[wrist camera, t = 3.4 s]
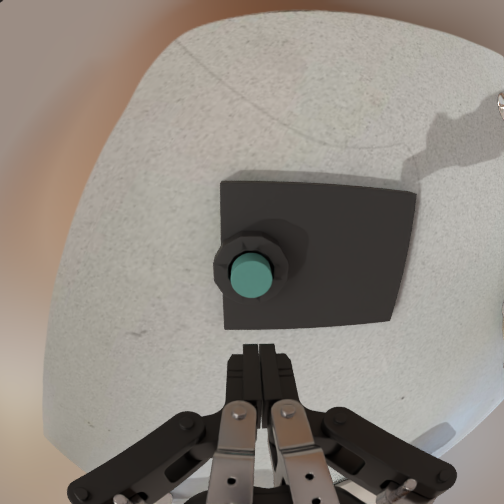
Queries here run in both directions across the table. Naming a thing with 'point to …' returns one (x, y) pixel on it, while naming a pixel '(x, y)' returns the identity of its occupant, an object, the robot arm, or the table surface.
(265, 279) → the power button
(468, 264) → the table surface
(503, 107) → the wineglass
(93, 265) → the table surface
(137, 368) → the table surface
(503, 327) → the bowl
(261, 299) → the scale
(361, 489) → the pan
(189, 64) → the table surface
